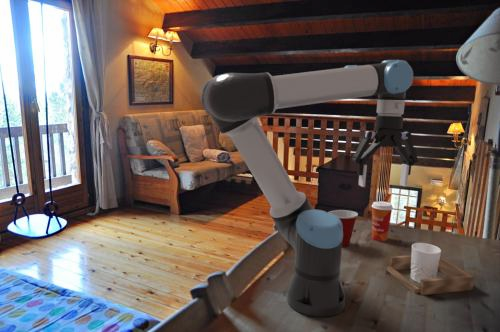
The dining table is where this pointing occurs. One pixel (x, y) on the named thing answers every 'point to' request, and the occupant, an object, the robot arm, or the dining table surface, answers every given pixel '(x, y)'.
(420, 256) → the white cup
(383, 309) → the dining table surface
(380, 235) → the paper cup
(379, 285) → the dining table surface
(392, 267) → the bay
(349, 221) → the plastic cup
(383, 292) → the dining table surface
